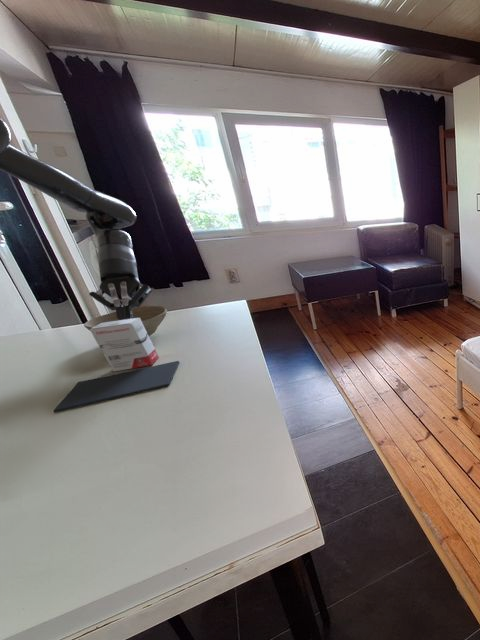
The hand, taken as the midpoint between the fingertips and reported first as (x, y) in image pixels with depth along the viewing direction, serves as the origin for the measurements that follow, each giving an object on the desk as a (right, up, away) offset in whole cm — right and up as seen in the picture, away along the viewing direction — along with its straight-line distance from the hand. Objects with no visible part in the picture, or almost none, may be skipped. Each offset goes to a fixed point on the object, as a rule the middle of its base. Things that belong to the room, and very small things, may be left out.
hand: (125, 321), depth 95 cm
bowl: (-9, -5, +14) cm, 17 cm away
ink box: (+3, -11, 0) cm, 12 cm away
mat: (+9, -16, -10) cm, 20 cm away
